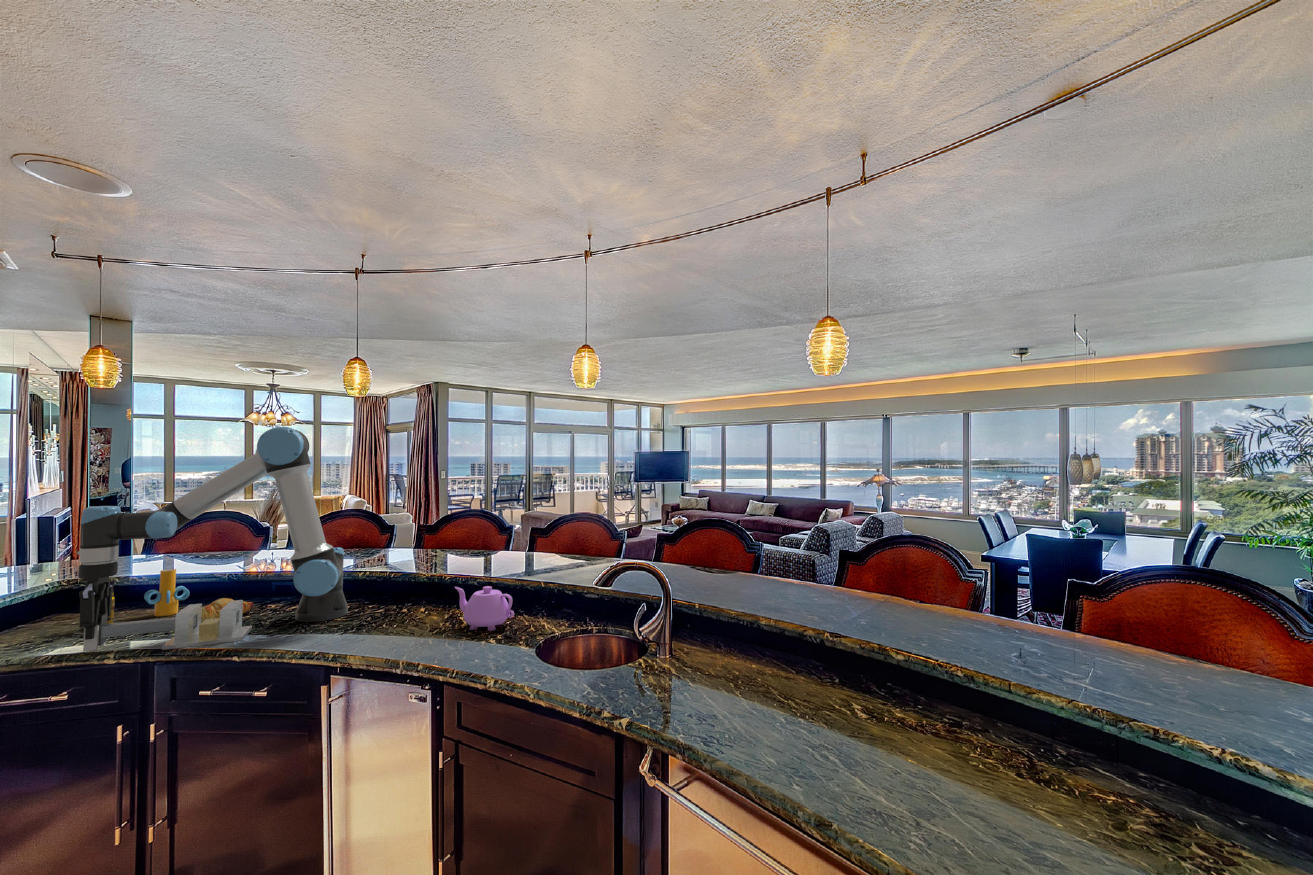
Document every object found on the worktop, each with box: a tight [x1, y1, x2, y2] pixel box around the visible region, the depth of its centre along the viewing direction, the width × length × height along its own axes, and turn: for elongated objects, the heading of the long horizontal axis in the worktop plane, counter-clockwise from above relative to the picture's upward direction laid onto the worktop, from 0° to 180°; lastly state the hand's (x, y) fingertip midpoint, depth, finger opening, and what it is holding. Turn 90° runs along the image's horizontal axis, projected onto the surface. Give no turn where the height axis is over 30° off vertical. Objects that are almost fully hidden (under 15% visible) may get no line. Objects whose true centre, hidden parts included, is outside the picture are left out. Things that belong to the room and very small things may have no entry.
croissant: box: [201, 597, 255, 623], centre depth 177 cm, size 21×10×8 cm, turn 160°
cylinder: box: [143, 568, 190, 617], centre depth 182 cm, size 12×10×15 cm
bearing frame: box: [161, 599, 253, 651], centre depth 157 cm, size 18×12×9 cm, turn 116°
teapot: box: [454, 585, 515, 632], centre depth 171 cm, size 20×14×12 cm
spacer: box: [199, 618, 220, 639], centre depth 157 cm, size 4×6×4 cm
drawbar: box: [97, 613, 196, 647], centre depth 150 cm, size 23×3×8 cm, turn 116°
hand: (94, 647), depth 145 cm, fingers closed on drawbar, 3 cm apart
